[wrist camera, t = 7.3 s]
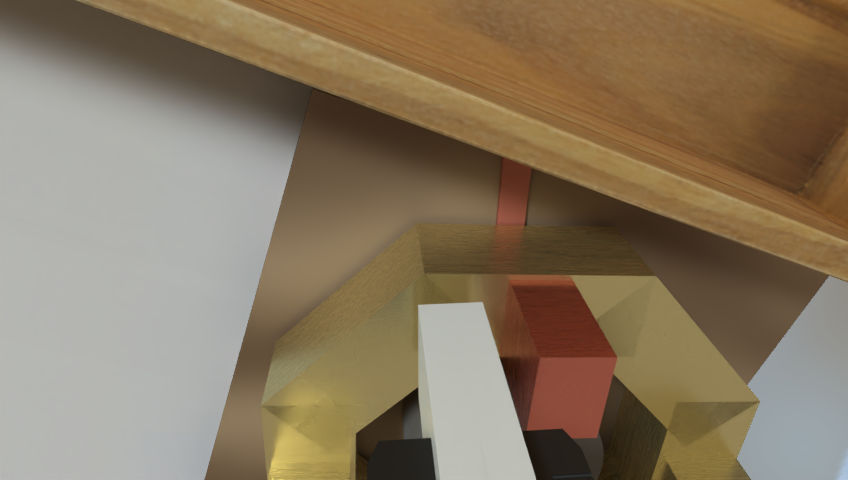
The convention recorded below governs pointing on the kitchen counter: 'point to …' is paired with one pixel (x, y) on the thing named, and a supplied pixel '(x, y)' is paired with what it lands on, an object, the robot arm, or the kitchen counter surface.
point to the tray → (590, 94)
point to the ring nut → (513, 353)
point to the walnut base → (468, 204)
